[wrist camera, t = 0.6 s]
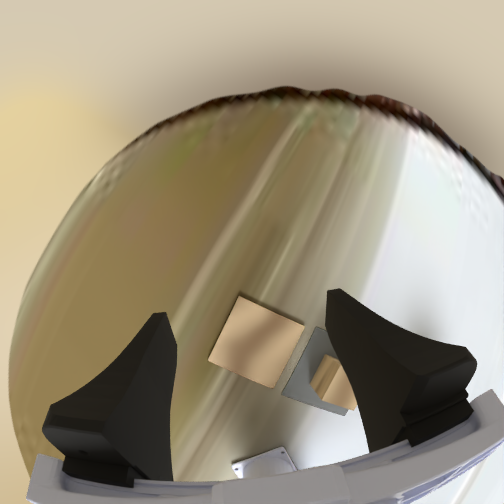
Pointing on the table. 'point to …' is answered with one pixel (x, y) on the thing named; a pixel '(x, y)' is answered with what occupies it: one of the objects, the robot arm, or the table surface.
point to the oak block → (333, 384)
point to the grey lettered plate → (312, 373)
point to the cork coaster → (256, 343)
